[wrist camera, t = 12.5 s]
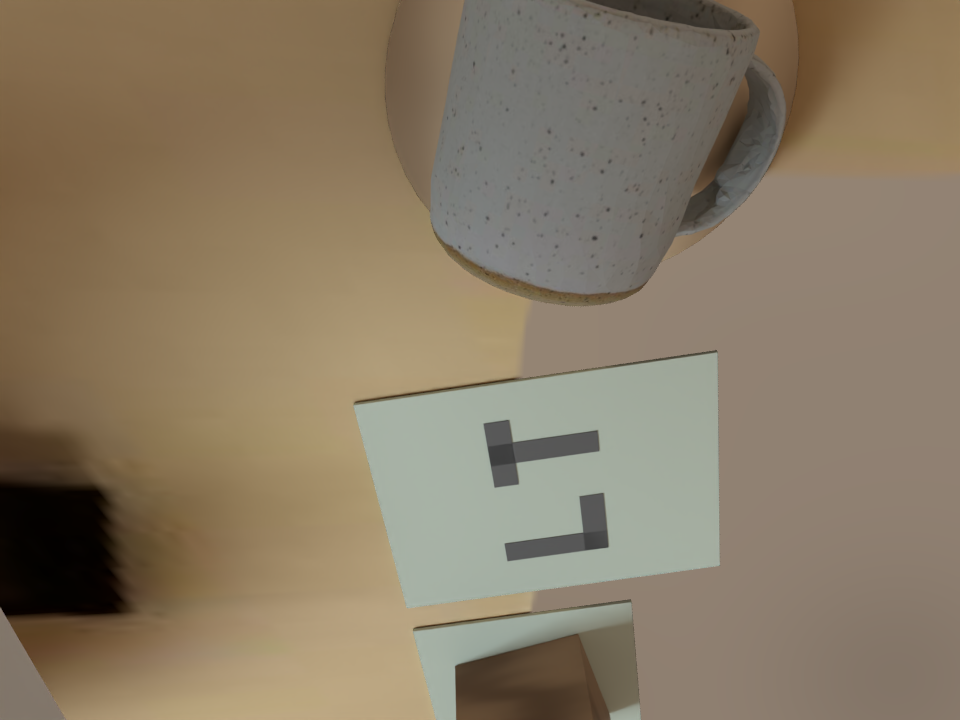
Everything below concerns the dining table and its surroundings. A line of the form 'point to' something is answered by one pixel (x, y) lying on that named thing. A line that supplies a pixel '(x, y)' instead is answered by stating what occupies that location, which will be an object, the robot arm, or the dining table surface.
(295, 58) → the dining table surface
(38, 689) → the robot arm
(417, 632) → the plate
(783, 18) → the coaster
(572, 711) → the walnut block
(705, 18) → the ceramic mug
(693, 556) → the plate
